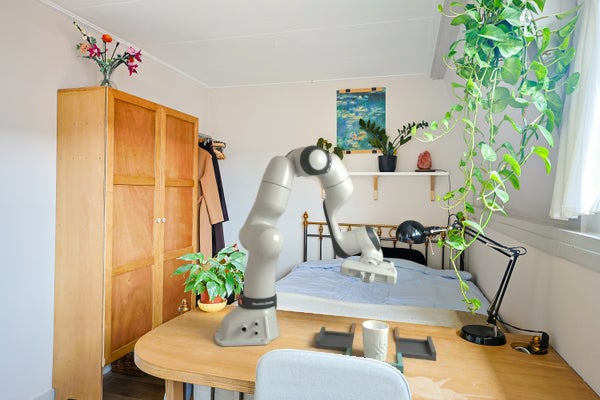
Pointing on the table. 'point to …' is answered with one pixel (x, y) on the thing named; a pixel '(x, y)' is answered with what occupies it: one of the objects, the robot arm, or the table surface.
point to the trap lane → (403, 345)
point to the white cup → (375, 339)
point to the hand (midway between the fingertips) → (366, 280)
